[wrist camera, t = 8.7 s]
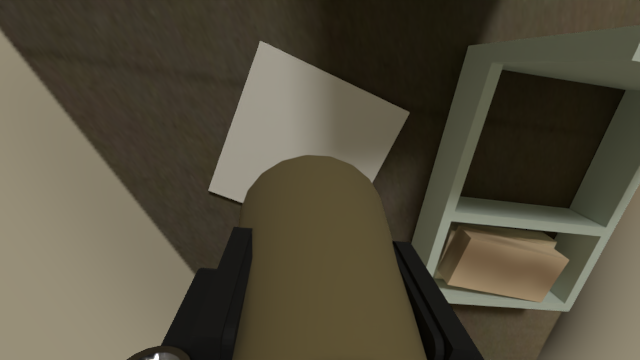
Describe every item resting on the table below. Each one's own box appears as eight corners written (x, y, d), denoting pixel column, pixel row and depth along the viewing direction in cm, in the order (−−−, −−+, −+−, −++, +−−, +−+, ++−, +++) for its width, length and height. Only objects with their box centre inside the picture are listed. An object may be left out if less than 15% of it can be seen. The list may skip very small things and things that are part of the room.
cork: (230, 270, 13) (-11, 995, 3) (252, 139, 11) (-284, 995, 1) (360, 290, 14) (527, 900, 4) (403, 172, 12) (1006, 792, 2)
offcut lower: (518, 272, 30) (534, 287, 28) (425, 263, 29) (434, 278, 27) (538, 229, 29) (557, 242, 27) (440, 218, 27) (451, 230, 25)
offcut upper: (525, 286, 28) (541, 302, 26) (437, 269, 27) (447, 284, 25) (550, 246, 27) (569, 260, 25) (458, 225, 25) (471, 238, 23)
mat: (341, 236, 27) (342, 238, 26) (209, 188, 24) (208, 190, 24) (408, 111, 23) (410, 112, 23) (261, 41, 21) (260, 40, 20)
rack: (539, 284, 30) (680, 412, 19) (402, 274, 29) (468, 407, 18) (642, 75, 23) (958, 84, 12) (468, 45, 22) (648, 24, 11)
